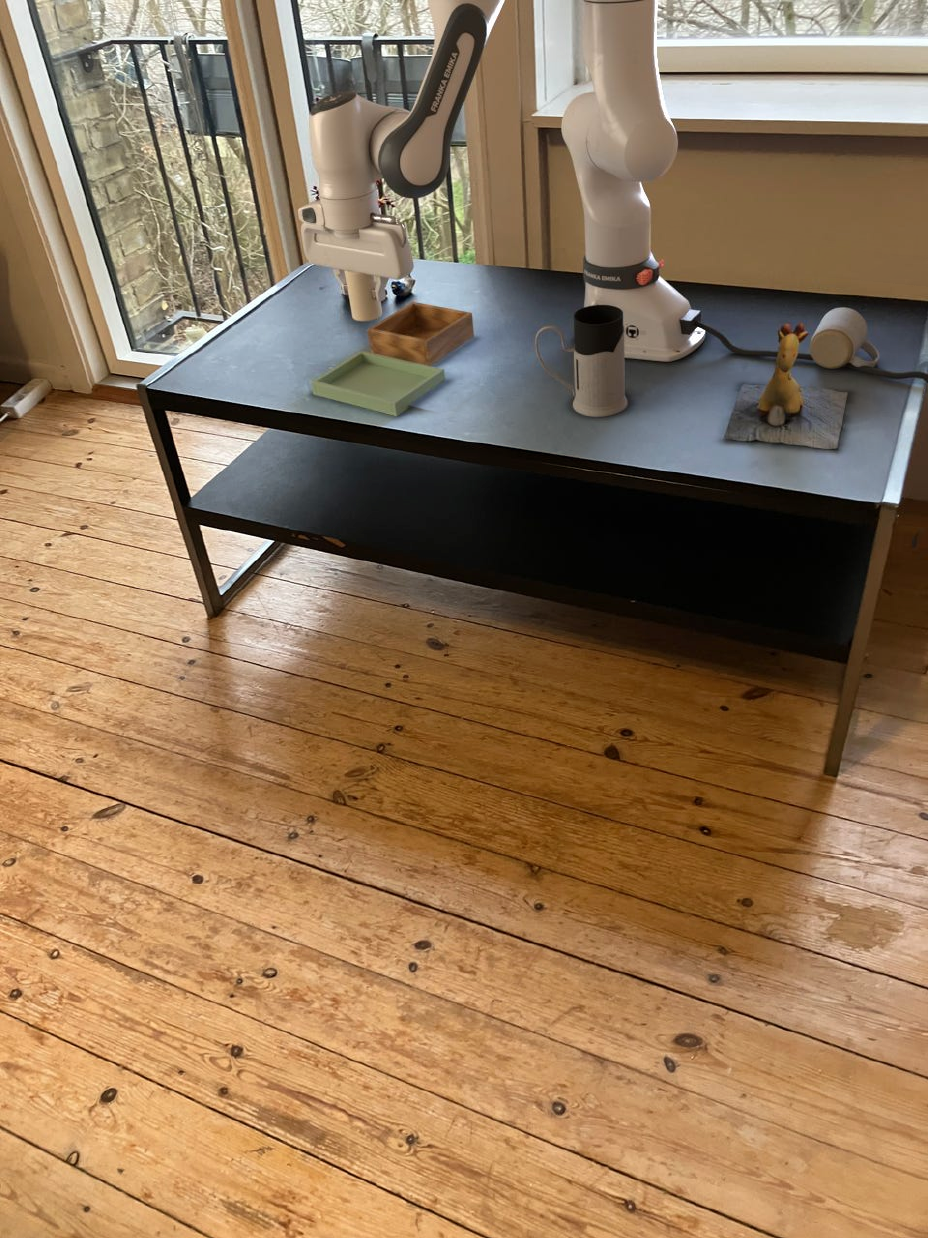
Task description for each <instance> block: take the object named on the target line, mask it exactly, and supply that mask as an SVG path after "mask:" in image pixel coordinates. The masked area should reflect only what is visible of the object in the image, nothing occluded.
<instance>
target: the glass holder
mask: <svg viewBox="0 0 928 1238" xmlns="http://www.w3.org/2000/svg"><path fill="white" fill-rule="evenodd" d="M547 330H553V331H555V332H557V333H558V334H559V336H560V339H561V347H562V349H563V350H564V351H565V352H567V353H573V369H574V370H573V371H574V387H573V386H572V385H571V384H569V383H568V382H567V381H565V379H563V378H561V377H559V376H558V375H556V374H555V373H554V372H552V371H551V370H550V369H549V368H548V367H547V365H546V364H545V362H544V360H543V359H542V357H541V353H540V351H539V344H538V340H539V336H540V334H541V333H542V332H545V331H547ZM573 332H574V333H573V335H574V336H573V337H574V345H573V348H567V347H566V346H565V337H564V334H563V332H562V331H561V329H560V328H558V327H556V326H554V325H546V326H544V327H542V328H540V329H538V331H537V333H536V334H535V341H534V344H535V353H536V356H537V359H538V361H539V363H540V364H541V366H542V368H543V369H544V371H545V373H547V374H548V375H550V376H551V377H552V378H554V379H555V380H556V381H558V382H559V383H561V384H563V385H564V386H565V387H567V388H568V389H570V390H571V391H572V395H573V397H574V400H573V402H572V408H573V409H574V411H576V413H578V414H580V415H583V416H587V417H592V418H593V417H594V418H601V417H603V418H604V417H610V416H613V415H616V414H618V413H621V412H623V411H624V410H625V409H626V408H627V406H628V398H627V397H626V394H625V393H626V391H625V389H626V387H625V385H626V384H625V381H626V380H625V375H626V374H625V373H626V372H625V370H626V369H625V366H626V365H625V358H624V326H623V311H622V310H621V309H620V308H618V307H615V306H611V305H592V306H587V307H584V306H583V307H581V308H579V309H577V310H576V311H575V312H574V314H573Z"/></svg>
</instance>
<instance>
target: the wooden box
mask: <svg viewBox="0 0 928 1238" xmlns="http://www.w3.org/2000/svg"><path fill="white" fill-rule="evenodd" d="M366 331H367V336H368V337H367V338H368V343H369V348H370V353H374V354H378V355H383V356H387V357H392V358H396V359H401V360H405V361H409V362H414V363H418V364H423V365H427V366H431V367H433V365H434V364H436V363H437V362H439V361H441V360H442V359H443V358H445V357H447V356H449V354H450V353H453V352H454V351H455V350H457V349H458V348H460V347H461V346H462V345H464V344H465V343H467V342H468V341H469V340H471V339H473V338H474V337H475V331H474V322H473V313H472V312H469V311H464V310H459V309H453V308H448V307H443V306H438V305H432V304H428V303H422V302H418V301H412V302H410V303H408V304H406V305H405V306H404V307H401V308H400V309H398V310H397V311H395V312H393V313H392V314H390V315H389V316H387V317H385V318H384V319H382V320H380V321H379V322H377V323H375V324H374V325H372V326H370V327H368V329H366Z"/></svg>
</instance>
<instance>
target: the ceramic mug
mask: <svg viewBox="0 0 928 1238" xmlns="http://www.w3.org/2000/svg"><path fill="white" fill-rule="evenodd" d="M867 336H868V325H867V321H866V320H865V318H864V317H863V316H862V314H860V313H859V312H858V311H857V310H855V309H852V308H850V307H835V308H833V309H831V310H829V311H828V312H826V313H825V314H824V316H823V317H822V319H821V320H820V322H819V324H818V326H817V328H816V329H815V332H814V333H813V335H812V336H811V339H810V343H809V354H811V356H812V358H813V360H814V362H815V363H816V364H817V365H818V366H819V367H822V368H824V369H829V370H834V369H839V368H841V367H844V365H845V364H847V363H851V364H852V365H854V366H856V367H860V366H869V367H873V368H875V367H876V365H877V364H878V362H879V361H880V359H881V358H880V356H881V355H880V352H879V351H878V349H877V347H875V346H874V344H872V343H871V342H869V341H868V340H867ZM860 349H861V350H863V351H864V352H866V353H867V354H868V355H869V357H870V358H871V360H872V361H868V360H864V359H863V358H860V357H859V356H857V355H856V354H857V353H858V351H859V350H860ZM813 360H812V361H813Z"/></svg>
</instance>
